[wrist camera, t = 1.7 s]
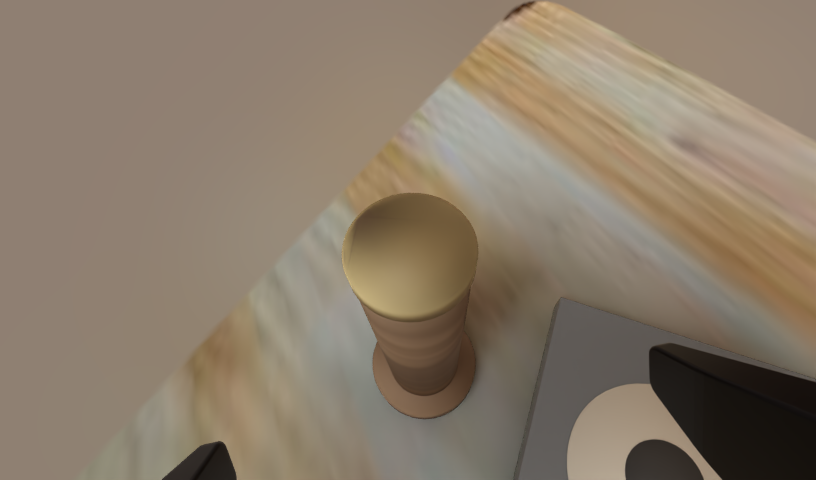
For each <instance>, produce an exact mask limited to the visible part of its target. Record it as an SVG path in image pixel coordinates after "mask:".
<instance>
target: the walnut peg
mask: <svg viewBox="0 0 816 480" xmlns="http://www.w3.org/2000/svg"><path fill="white" fill-rule="evenodd" d="M477 260H478V242H477V237H476V234H475V232H474V229H473V227H472V225H471V223H470V222H469V220H468V219H467V218H466V216H465V215H464V214H463V213H462V212H461V211H460V210H459V209H457V208H456V207H455V206H454V205H452V204H450V203H449V202H447V201H445V200H443V199H441V198H438V197H435V196H432V195H428V194H421V193H403V194H397V195H392V196H389V197H386V198H383V199H381V200H379V201H377V202H375V203H373V204H372V205H370V206H369V207H367V208H366V209H365V210H363V211H362V212H361V213H360V214H359V215H358V216H357V217H356V219H355V220H354V221H353V222H352V224H351V226H350V227H349V229H348V231H347V233H346V235H345V239H344V242H343V247H342V263H343V268H344V271H345V274H346V277H347V279H348V281H349V283H350V285H351V287H352V290H353V292H354V293H355V295H356V296H357V298H358V299H359V300H360V302H361V305H362V307H363V309H364V311H365V314H366V316H367V318H368V320H369V323H370V325H371V327H372V329H373V332H374V334H375V336H376V338H377V341H378V342H377V344H376V347H375V350H374V354H373V373H374V378H375V381H376V384H377V386H378V388H379V390H380V391H381V393H382V395H383V396H384V398H385V399H386V400H387V401H388V403H389V404H390V405H391V406H393V407H394V408H395V409H396V410H398V411H399V412H401V413H403V414H405V415H407V416H410V417H413V418H418V419H432V418H437V417H440V416H443V415H445V414H447V413H449V412H451V411H452V410H454V409H455V408H456V407H457V406H458V405H459V404H460V403H461V402H462V401H463V400H464V398H465V397H466V395H467V394H468V392H469V390H470V387H471V384H472V382H473V378H474V374H475V366H476V365H475V354H474V350H473V346H472V344H471V342H470V340H469V338H468V336H467V335H466V333H465V332H464V331H463V329H464V323H465V317H466V311H467V306H468V300H469V294H470V288H471V284H472V282H473V279H474V276H475V272H476V266H477Z"/></svg>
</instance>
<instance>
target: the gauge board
mask: <svg viewBox="0 0 816 480" xmlns="http://www.w3.org/2000/svg"><path fill="white" fill-rule="evenodd" d="M664 343H675V344H679V345H682V346H686V347H690V348H693V349H697V350H701V351H704V352H708V353H712V354H715V355H719V356H723V357H726V358H730V359H734V360H737V361H741V362H744V363H748V364H752V365H755V366H759V367H763V368H766V369H770V370H774V371H777V372H781V373H785V374H788V375H792V376H796V377H799V378H803V379H807V380H810V381H814V382H816V379H814V378H811V377H808V376H805V375H802V374H799V373H795V372H792V371H789V370H786V369H783V368H780V367H777V366H774V365H771V364H767V363H764V362H761V361H758V360H755V359H752V358H749V357H746V356H743V355H739V354H736V353H733V352H730V351H727V350H724V349H721V348H718V347H715V346H711V345H708V344H705V343H702V342H699V341H696V340H693V339H690V338H687V337H683V336H680V335H677V334H674V333H671V332H668V331H665V330H662V329H659V328H655V327H652V326H649V325H646V324H643V323H640V322H637V321H634V320H631V319H627V318H624V317H621V316H618V315H615V314H612V313H609V312H606V311H603V310H599V309H596V308H593V307H590V306H587V305H584V304H581V303H578V302H575V301H571V300H568V299H565V298H562V297H561V298H560V300H559V301H558V303H557V304H556V306H555V308H554V312H553V317H552V321H551V325H550V329H549V333H548V337H547V342H546V346H545V350H544V354H543V358H542V362H541V367H540V371H539V375H538V379H537V383H536V387H535V392H534V396H533V400H532V404H531V408H530V412H529V417H528V421H527V425H526V429H525V433H524V437H523V442H522V446H521V450H520V454H519V458H518V462H517V467H516V471H515V475H514V479H513V480H722V479H721V478H720V477H719V476H718V475H717V473H716V472H715V471H714V470H713V469H712V468H711V466H710V465H709V464H708V463H707V462H706V461H705V459H704V458H703V457H702V456H701V455H700V453H699V452H698V451H697V449H696V448H695V447H694V446H693V444H692V443H691V441H690V440H689V439H688V437H687V436H686V435H685V433H684V432H683V431H682V429H681V428H680V427H679V425H678V424H677V422H676V421H675V420H674V418H673V417H672V416H671V414H670V413H669V412H668V410H667V409H666V408H665V406H664V405H663V403H662V402H661V401H660V399H659V398H658V397H657V395H656V394H655V392H654V391H653V389H652V387H651V384H650V380H649V350H650V348H651V347H652V346H655V345H659V344H664Z"/></svg>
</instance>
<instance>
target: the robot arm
mask: <svg viewBox="0 0 816 480" xmlns="http://www.w3.org/2000/svg"><path fill="white" fill-rule="evenodd" d="M649 380H650V384H651V387H652V389H653V391H654V392H655V394H656V395H657V397H658V398H659V399H660V401H661V402H662V403H663V405H664V406H665V408H666V409H667V410H668V412H669V413H670V414H671V416H672V417H673V418H674V420H675V421H676V422H677V424H678V425H679V427H680V428H681V429H682V431H683V432H684V433H685V435H686V436H687V437H688V439H689V440H690V441H691V443H692V444H693V446H694V447H695V448H696V449H697V451H698V452H699V453H700V455H701V456H702V457H703V458H704V459H705V461H706V462H707V463H708V464H709V465H710V466H711V468H712V469H713V470H714V471H715V472H716V473H717V475H718V476H719V477H720V478H721V479H722V480H816V382H814V381H810V380H807V379H803V378H799V377H796V376H792V375H788V374H785V373H781V372H777V371H774V370H770V369H766V368H763V367H759V366H755V365H752V364H748V363H744V362H741V361H737V360H734V359H730V358H726V357H723V356H719V355H715V354H712V353H708V352H704V351H701V350H697V349H693V348H690V347H686V346H682V345H679V344H675V343H664V344H659V345H655V346H652V347H651V348H650V350H649ZM162 480H237V477H236V472H235V469H234V467H233V464H232V461H231V458H230V456H229V453H228V450H227V447H226V446H225V444H224V443H223V442H221V441H218V442H213V443H209V444H204V445H201V446H200V447H198V448H197V449H196V450H195V451H194V452H193V453H192V454H190V455H189V456H188V457H187V458H186V459H185V460H184V461H182V462H181V463H180V464H179V465H178V466H177V467H176V468H174V469H173V470H172V471H171V472H170V473H169V474H168V475H166V476H165V477H164V478H163V479H162Z"/></svg>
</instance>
